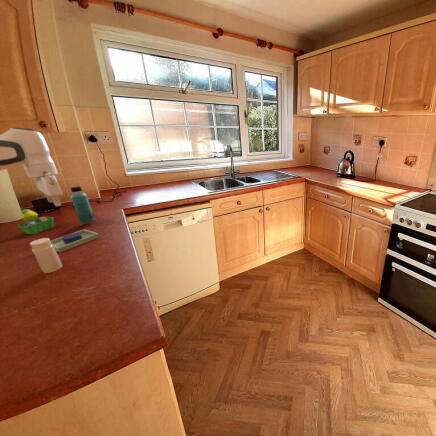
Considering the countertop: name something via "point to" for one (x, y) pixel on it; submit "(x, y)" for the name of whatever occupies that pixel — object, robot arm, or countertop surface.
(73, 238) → the jar lid
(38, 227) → the fruit basket
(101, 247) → the countertop surface
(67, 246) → the serving tray
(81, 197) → the beverage bottle
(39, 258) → the jam jar
